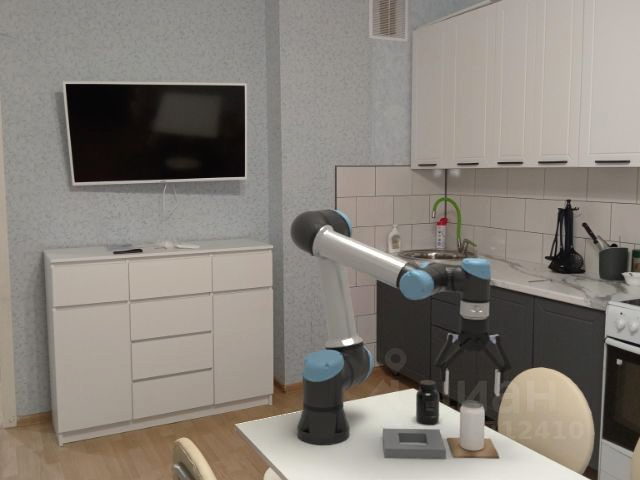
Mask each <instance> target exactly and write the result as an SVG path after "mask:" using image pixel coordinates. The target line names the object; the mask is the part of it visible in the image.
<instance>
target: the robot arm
mask: <svg viewBox="0 0 640 480" xmlns="http://www.w3.org/2000/svg"><path fill="white" fill-rule="evenodd" d="M289 231H290V233H289V234H290V237H291V238H290V239H291V241H292V242H293V244H294V245H295V246H296V248H298V249H299V250H301V251H303V252H304V253H307V254H309V255H310V257H311V258H312V259H314V260H315V261H316V263H317V269H318V276H319V282H320V288H321V295H322V301H323V308H324V314H325V315H324V316H325V320H326V326H327V327H326V328H327V333H328V340H327V342H326V343H325V344H324V345H325V349H321V350H320V351H319V350H317V351H313V352H310V353H309V354H307V355H306V356H305V357H304V359H303V361H302V369H301V373H302V411H301V413H300V418H299V420H298V424H297V427H296V429H297V430H296V431H297V432H296V434H297V438H299V439H300V441H303V442H305V443H308V444H314V445H333V444H338V443H341V442H344V441H345V440H347V439H348V438H349V437H350V435H351V434H350V433H351V431H350V424H349V421H348V418H347V415H346V412H345V408H344V392H345V391H348V390H350V389H351V388H353V387H356V386H358V385H361V384H362V383H363V382H364V381H365V380H367V378H369V376H370V375H371V373H372V371H373V367H374V359H373V356H372V353H371V351H370V350H368V348H367V347H366V346H365V345H364V340H363V338H361V337H360V336H359V335H358V333H357V332H358V331H357V327H356V326H357V325H356V322H355V312H354V308H353V302H352V294H351V287H350V282H349V281H350V280H349V276H348V274H349V273H348V268H350V269H352V270H354V271H356V272H360V273H361V274H363V275H366V276H368V277H370V278H372V279H375V280H377V281H380V282H381V283H384V284H386V285H389V286H391V287H393V288H396V289H397V290H400V292H401V294H402V295H404V297H405V298H407V299H408V300H410V301H418V300H423V299H427V298H428V297H430V296H433V295H435V294H439V293H441V292H448V293H449V292H450V293H456V294H458V293H459V294H460V305H459V307H460V308H459V315H461V316H460V317H459V332H458V334H454V333H451V332H447V334H446V341H445V342H444V344H443V345H442V348H441V349H440V351H439V353H438V354H437V356H436V358H435V360H434V362H433V365H434V366H435V368H437V369H440V381H441V382H443V392H444V395H449V380H450V379H449V377H450V376H449V375H450V371H449V369H448V368H449V367H450V366H451V365H452V364H453V363H454V362H455V361H456V359H458V357H459V356H460V355H461V354H463V353H464V352H465V351H467V352H478V353H479V352H481V351H482V350H483V352H484V353H485V354H486V356H488V358H489V359H490V360H491V361H492V363H493V364H494V365H495V366H496V368H497V369H495V372H494V373H495V374H494V391H493V392H494V393H493V394H495V396H496V397H500V391H501V390H500V388H501V387H500V386H501V384H504V382H505V381H504V380H505V373H506V371H511V370H512V368H513V367H512V365H511V362H510V361H509V359H508V356H507V354H506V352H505V350H504V348H503V346H502V344H501V337H500V335H499V334H498V333H495V334H493V335H489V322H490V321H489V318H488V317H489V316H490V293H491V292H490V291H491V290H490V289H491V279H492V275H491V263H490V261H489V260H487V259H484V258H478V257H477V258H474V257H467V258H463V259H462V261H461V264H452V263H451V264H449V263H442V262H440V263H439V262H436V261H432V262H428V261H427V262H425V261H424V262H422V263H421V264H420V265H419V266H418V265H417V264H413V263H411V262H409V261H406V260H404V259H402V258H399V257H397V256H394V255H392V254H390V253H388V252H385V251H383V250H380V249H378V248H375V247H372V246H370V245H368V244H366V243H364V242H361V241H358V240H356V239H354V238H352V236H353V226H352V223H351V221H350V219H349V217H348V216H347V215H346V214H345V213H343V212H342V211H340V210H338V209H337V210H336V209H331V208H329V209H321V210H320V209H319V210H309V211H308V210H307V211H303V212H301V213H300V214H298V215H297V216H296V217H295V218H294V220H293V221H291V225H290V229H289ZM456 340H458V341H459V344H458V345H457V346H456V347H455V349H454V350H453V351H452V352H451V353H450V354H449V355H448V356H447V354H448V352H449V350H450V349H451V347H452V345H453V343H455V341H456ZM490 341H491V342H492V343H493V344H494V345H495V347H496V350H497V351H498V354H499V356H500V358H501V360H502V363H503V364H501V362H500V361H499V360H498V359H497V358H496V356H495V355H494V354H493V353H492V351H491V350H490V349H489V348H488V347H487V344H488V343H489V342H490ZM446 356H447V357H446ZM444 359H445V360H444Z"/></svg>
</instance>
